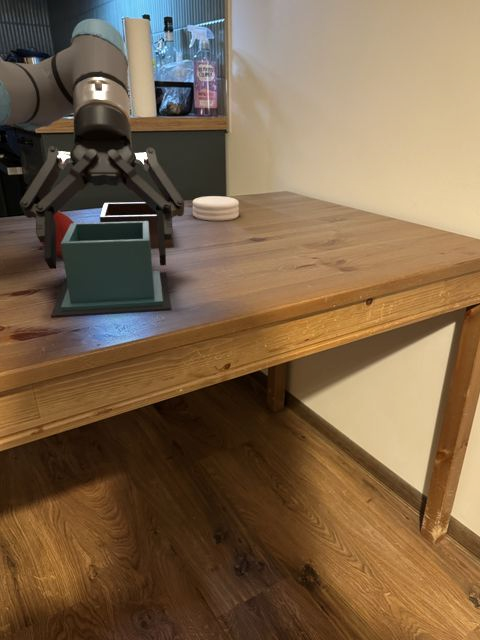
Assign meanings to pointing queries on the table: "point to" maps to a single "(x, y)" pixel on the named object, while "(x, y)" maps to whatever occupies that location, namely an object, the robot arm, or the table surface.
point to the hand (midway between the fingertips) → (107, 262)
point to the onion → (60, 230)
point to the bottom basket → (134, 218)
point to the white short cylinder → (215, 208)
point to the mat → (165, 307)
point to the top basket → (109, 266)
